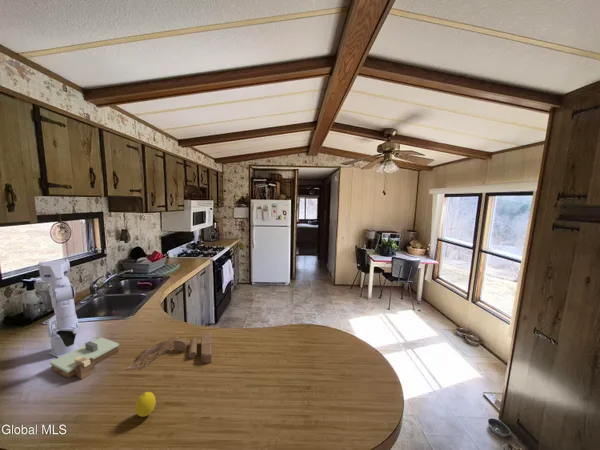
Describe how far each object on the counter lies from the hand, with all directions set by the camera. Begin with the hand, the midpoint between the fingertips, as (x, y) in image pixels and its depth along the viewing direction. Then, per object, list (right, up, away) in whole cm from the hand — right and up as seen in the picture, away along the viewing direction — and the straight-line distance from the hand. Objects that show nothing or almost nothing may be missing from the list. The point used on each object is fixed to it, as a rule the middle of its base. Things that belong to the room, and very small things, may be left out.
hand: (69, 345), depth 97 cm
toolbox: (+5, -10, +5) cm, 12 cm away
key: (+8, -6, -2) cm, 10 cm away
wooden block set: (+48, -10, +9) cm, 50 cm away
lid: (+2, -7, +5) cm, 9 cm away
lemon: (+47, -13, -21) cm, 53 cm away
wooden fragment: (+30, -10, +12) cm, 33 cm away
